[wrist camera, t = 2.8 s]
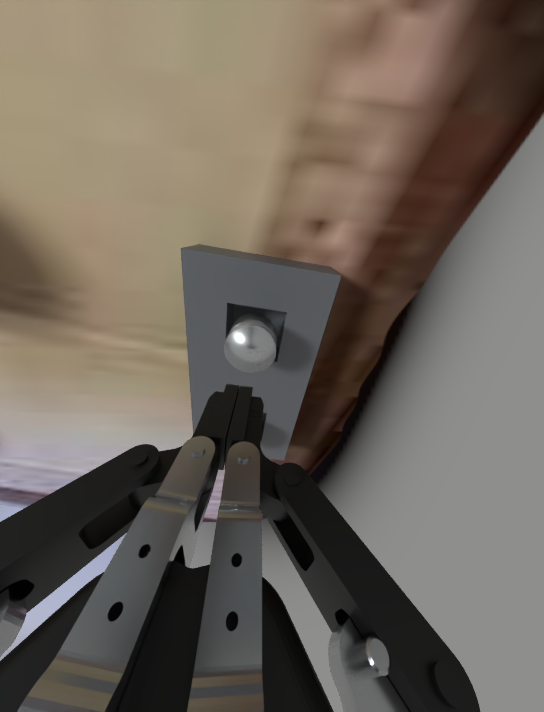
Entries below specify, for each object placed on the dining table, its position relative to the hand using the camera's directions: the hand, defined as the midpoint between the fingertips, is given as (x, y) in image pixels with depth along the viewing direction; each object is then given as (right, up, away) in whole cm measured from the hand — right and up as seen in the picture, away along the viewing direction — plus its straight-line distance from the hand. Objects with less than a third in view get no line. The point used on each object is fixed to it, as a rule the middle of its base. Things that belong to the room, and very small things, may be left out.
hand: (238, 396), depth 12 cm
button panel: (0, +1, +13) cm, 13 cm away
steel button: (0, +4, +7) cm, 8 cm away
